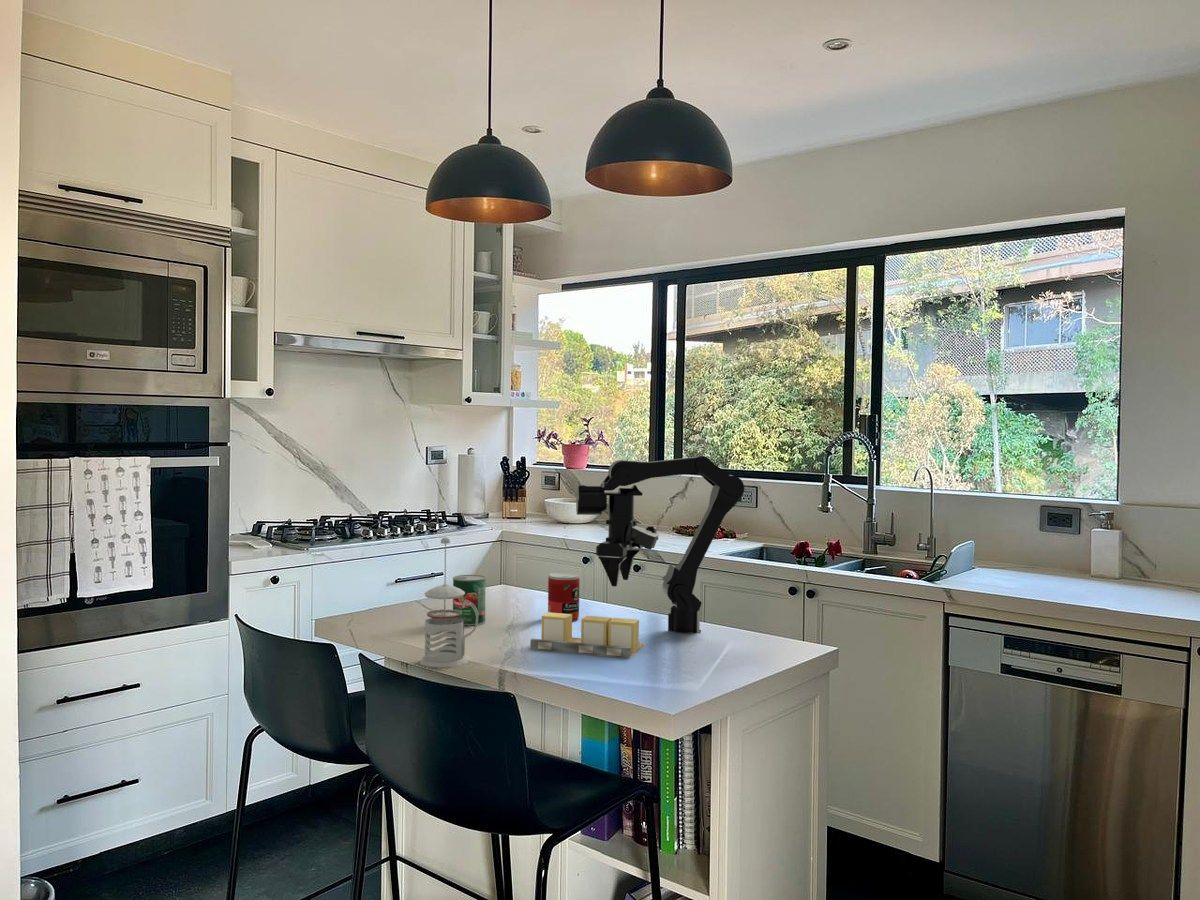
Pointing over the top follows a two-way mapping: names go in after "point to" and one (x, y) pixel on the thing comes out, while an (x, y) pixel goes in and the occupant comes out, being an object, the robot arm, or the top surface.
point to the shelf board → (582, 648)
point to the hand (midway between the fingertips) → (620, 583)
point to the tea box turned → (557, 627)
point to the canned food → (564, 593)
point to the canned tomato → (470, 598)
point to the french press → (446, 628)
